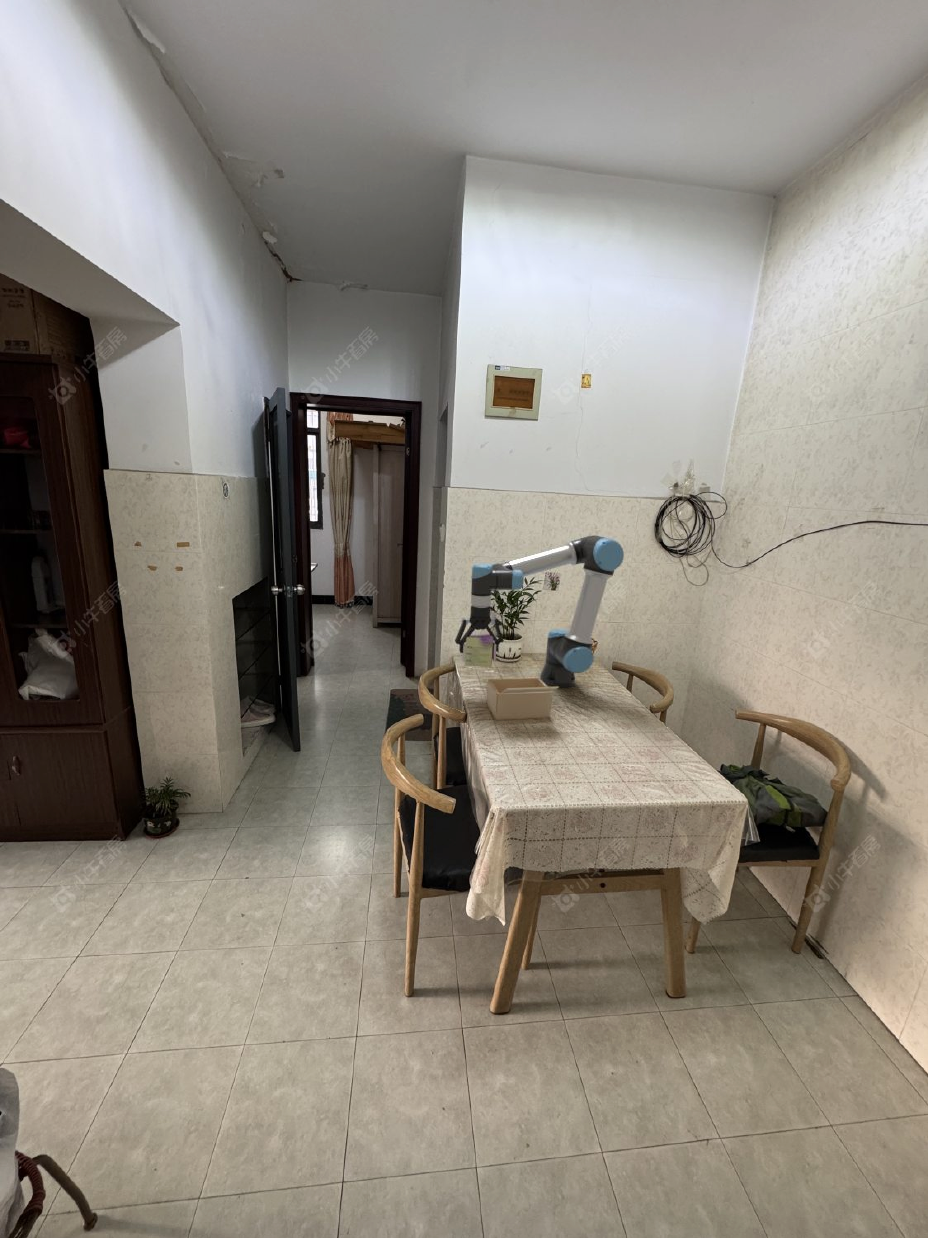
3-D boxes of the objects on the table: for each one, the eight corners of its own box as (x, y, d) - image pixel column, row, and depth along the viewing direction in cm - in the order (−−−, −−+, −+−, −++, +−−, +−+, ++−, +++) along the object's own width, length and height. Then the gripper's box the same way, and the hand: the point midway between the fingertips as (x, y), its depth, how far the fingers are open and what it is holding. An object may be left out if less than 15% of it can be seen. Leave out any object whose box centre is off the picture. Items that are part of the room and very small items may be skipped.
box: (492, 662, 197) (493, 634, 194) (491, 667, 192) (492, 638, 189) (465, 661, 198) (466, 632, 195) (464, 666, 193) (465, 636, 190)
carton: (537, 701, 197) (539, 677, 194) (550, 717, 183) (553, 692, 181) (485, 703, 192) (486, 679, 190) (495, 720, 179) (496, 694, 176)
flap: (558, 686, 173) (559, 687, 173) (550, 690, 180) (550, 691, 180) (507, 688, 169) (507, 689, 169) (501, 692, 176) (501, 693, 176)
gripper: (508, 602, 195) (505, 655, 200) (447, 603, 190) (446, 658, 196) (513, 607, 188) (510, 661, 193) (451, 608, 183) (450, 664, 188)
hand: (478, 660), depth 194 cm, fingers closed on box, 11 cm apart
